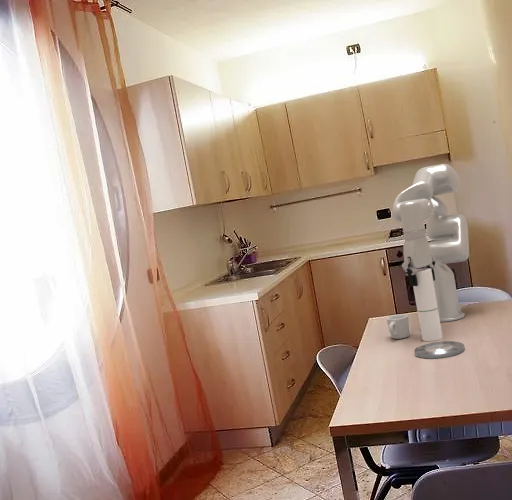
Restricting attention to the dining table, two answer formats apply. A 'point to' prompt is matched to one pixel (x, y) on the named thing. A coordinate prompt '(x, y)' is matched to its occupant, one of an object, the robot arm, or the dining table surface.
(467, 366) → the dining table surface
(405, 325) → the cup
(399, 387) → the dining table surface
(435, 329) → the cylindrical container
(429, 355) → the flange plate
